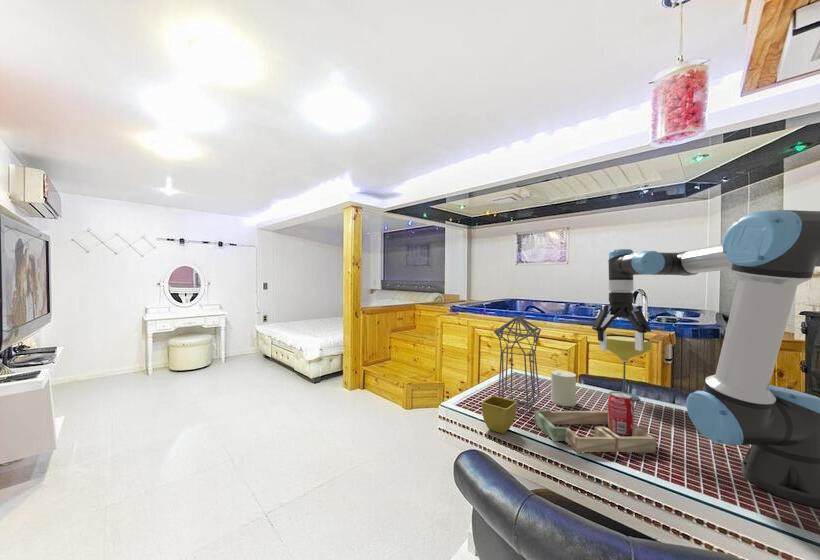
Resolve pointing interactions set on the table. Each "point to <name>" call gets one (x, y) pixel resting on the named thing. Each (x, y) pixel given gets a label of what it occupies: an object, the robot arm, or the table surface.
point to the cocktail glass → (626, 351)
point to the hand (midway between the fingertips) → (621, 350)
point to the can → (563, 388)
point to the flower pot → (499, 413)
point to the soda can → (620, 413)
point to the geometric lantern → (498, 332)
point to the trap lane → (602, 435)
